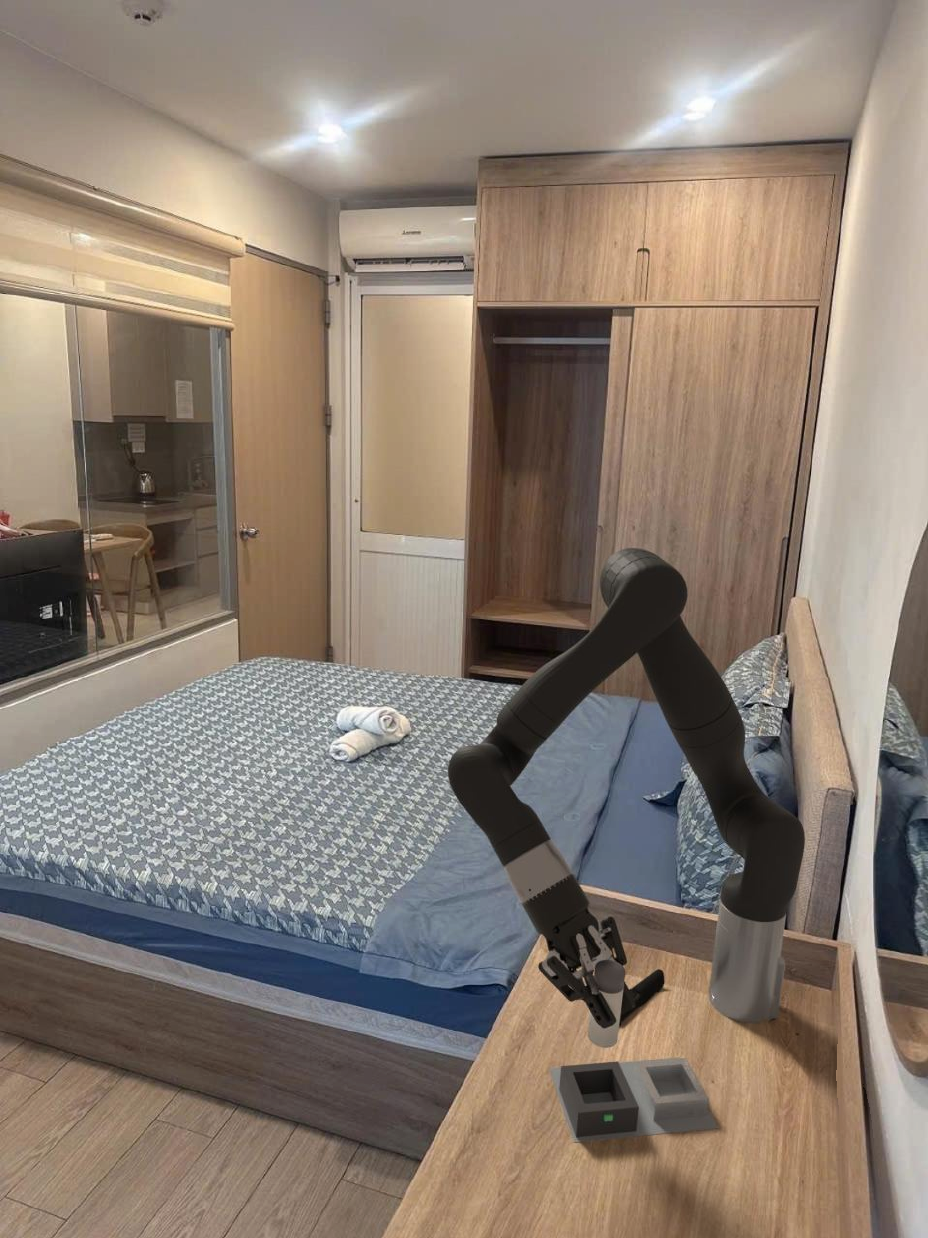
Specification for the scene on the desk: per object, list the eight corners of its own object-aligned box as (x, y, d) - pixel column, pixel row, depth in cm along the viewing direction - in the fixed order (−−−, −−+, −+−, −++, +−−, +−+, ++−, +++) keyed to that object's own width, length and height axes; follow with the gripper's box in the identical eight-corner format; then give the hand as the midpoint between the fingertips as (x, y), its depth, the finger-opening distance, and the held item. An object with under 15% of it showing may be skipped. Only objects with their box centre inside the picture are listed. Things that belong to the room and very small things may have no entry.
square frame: (684, 1074, 114) (685, 1058, 114) (706, 1115, 108) (708, 1098, 107) (633, 1078, 113) (635, 1062, 113) (653, 1120, 107) (655, 1103, 106)
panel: (679, 1063, 118) (679, 1057, 117) (718, 1134, 106) (719, 1128, 106) (548, 1075, 115) (548, 1068, 114) (573, 1149, 103) (574, 1142, 103)
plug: (611, 1025, 107) (619, 959, 105) (621, 1046, 104) (629, 978, 102) (583, 1028, 107) (590, 961, 105) (593, 1049, 103) (600, 980, 101)
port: (615, 1084, 112) (617, 1061, 111) (637, 1133, 105) (639, 1109, 104) (559, 1089, 111) (561, 1066, 110) (576, 1139, 103) (578, 1115, 103)
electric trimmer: (670, 992, 133) (672, 974, 132) (613, 1040, 122) (615, 1020, 121) (649, 981, 136) (651, 963, 135) (591, 1026, 125) (593, 1007, 124)
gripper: (528, 896, 101) (607, 1038, 96) (597, 855, 111) (671, 982, 106) (491, 918, 106) (565, 1055, 100) (560, 877, 116) (630, 999, 111)
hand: (619, 1016), depth 103 cm, fingers closed on plug, 3 cm apart
